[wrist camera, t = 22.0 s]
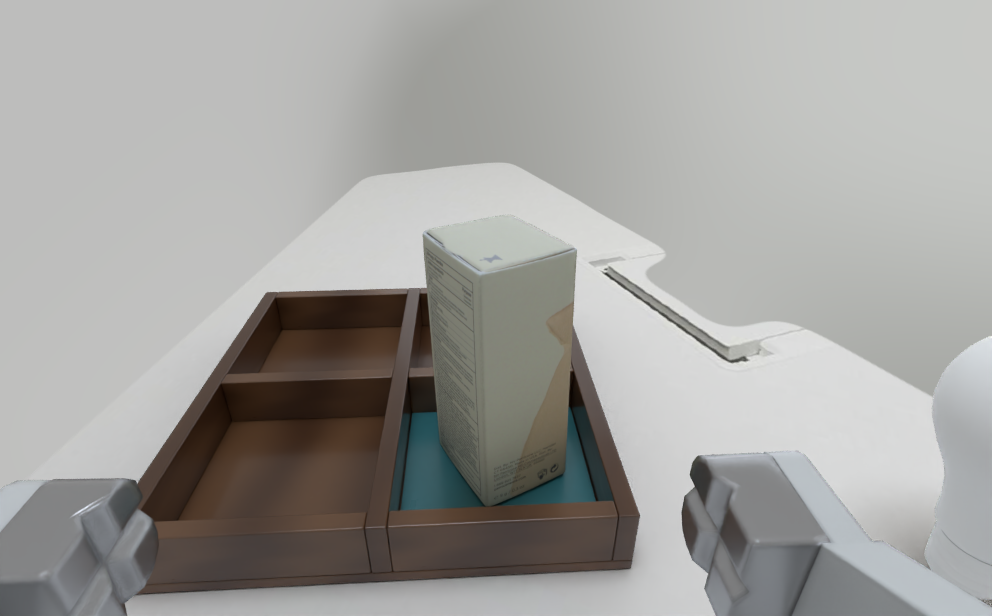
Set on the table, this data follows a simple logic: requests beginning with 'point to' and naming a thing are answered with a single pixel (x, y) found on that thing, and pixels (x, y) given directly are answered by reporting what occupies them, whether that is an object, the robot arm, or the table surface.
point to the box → (501, 350)
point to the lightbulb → (965, 472)
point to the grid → (361, 463)
